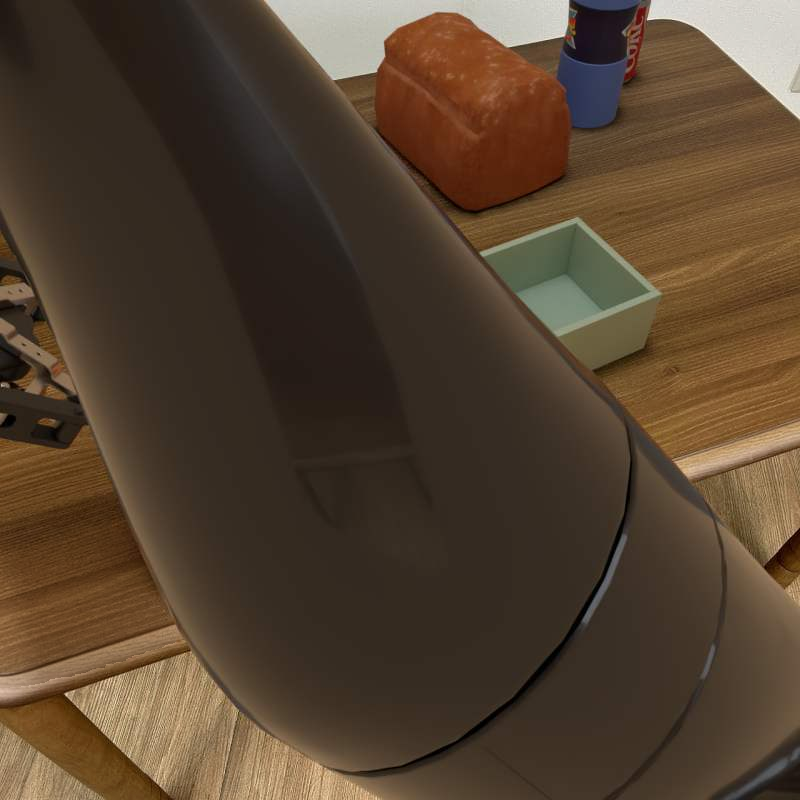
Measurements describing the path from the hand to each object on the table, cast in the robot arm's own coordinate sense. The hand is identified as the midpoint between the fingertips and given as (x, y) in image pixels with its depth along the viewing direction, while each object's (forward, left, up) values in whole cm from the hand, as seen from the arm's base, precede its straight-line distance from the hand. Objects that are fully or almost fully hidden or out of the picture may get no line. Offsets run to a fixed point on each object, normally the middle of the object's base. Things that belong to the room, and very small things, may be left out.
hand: (124, 368), depth 48 cm
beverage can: (+46, -80, -21) cm, 94 cm away
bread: (+39, -50, -21) cm, 66 cm away
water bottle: (+40, -70, -21) cm, 83 cm away
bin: (+6, -41, -21) cm, 46 cm away
